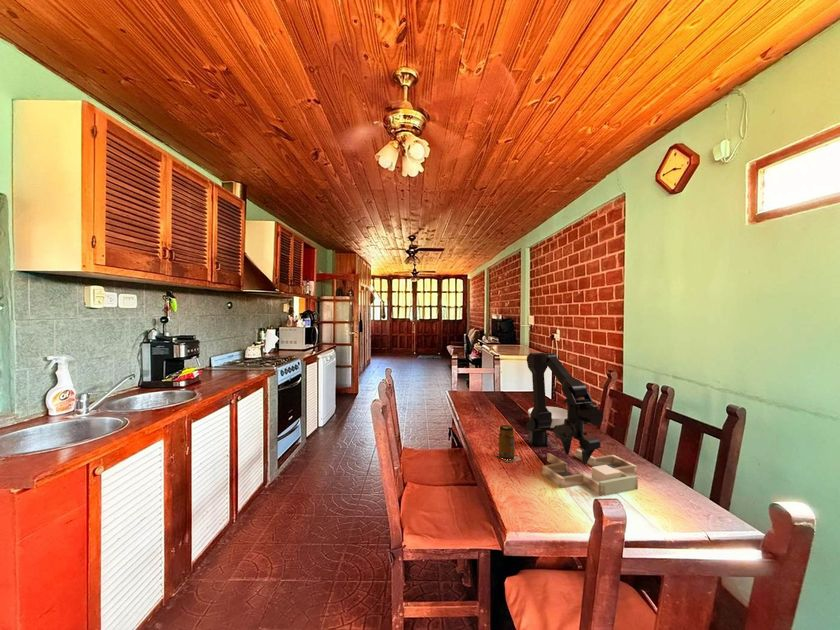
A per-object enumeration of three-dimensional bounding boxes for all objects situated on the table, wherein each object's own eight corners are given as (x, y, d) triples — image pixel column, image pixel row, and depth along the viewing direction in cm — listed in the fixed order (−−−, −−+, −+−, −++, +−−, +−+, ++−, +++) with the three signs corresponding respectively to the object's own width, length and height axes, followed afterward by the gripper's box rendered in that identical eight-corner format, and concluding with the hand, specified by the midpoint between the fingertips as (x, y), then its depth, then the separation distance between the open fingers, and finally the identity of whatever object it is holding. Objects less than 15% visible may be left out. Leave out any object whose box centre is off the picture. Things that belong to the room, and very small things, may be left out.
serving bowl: (523, 419, 192) (523, 406, 192) (563, 419, 191) (563, 406, 191) (534, 432, 171) (534, 417, 171) (579, 432, 170) (579, 418, 170)
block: (591, 481, 122) (591, 467, 122) (606, 479, 124) (605, 464, 124) (605, 490, 116) (605, 474, 116) (620, 487, 118) (620, 472, 118)
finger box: (547, 461, 138) (547, 450, 138) (578, 456, 142) (578, 446, 142) (601, 495, 112) (601, 483, 112) (637, 488, 116) (637, 476, 116)
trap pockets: (542, 474, 127) (542, 465, 127) (613, 462, 137) (613, 454, 136) (561, 488, 117) (561, 478, 117) (637, 474, 127) (637, 465, 127)
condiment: (509, 452, 147) (509, 423, 147) (521, 460, 139) (521, 429, 139) (493, 454, 145) (493, 425, 145) (505, 463, 137) (505, 431, 137)
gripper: (541, 412, 140) (541, 452, 140) (575, 427, 122) (575, 472, 122) (565, 409, 143) (565, 448, 143) (601, 424, 125) (601, 468, 126)
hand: (575, 459), depth 134 cm, fingers open, 9 cm apart
